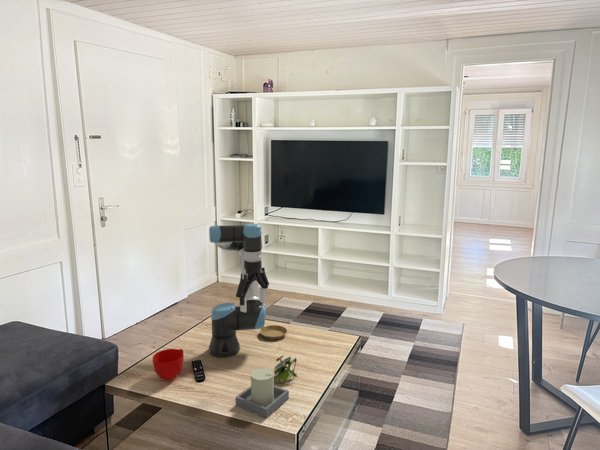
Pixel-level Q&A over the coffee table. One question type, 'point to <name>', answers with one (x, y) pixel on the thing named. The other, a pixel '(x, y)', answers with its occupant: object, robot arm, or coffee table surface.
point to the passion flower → (281, 368)
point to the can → (262, 386)
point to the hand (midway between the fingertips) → (253, 306)
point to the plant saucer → (273, 331)
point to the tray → (245, 402)
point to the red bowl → (168, 363)
